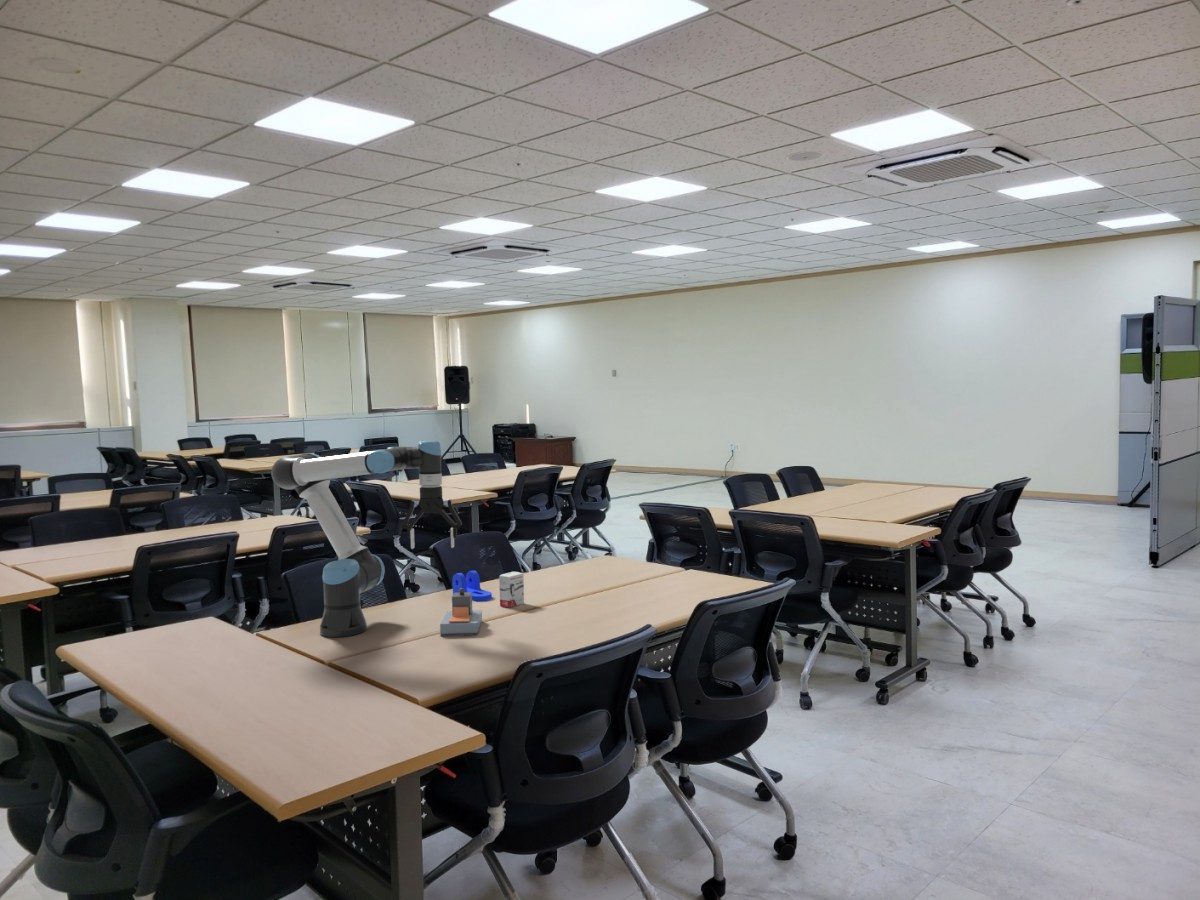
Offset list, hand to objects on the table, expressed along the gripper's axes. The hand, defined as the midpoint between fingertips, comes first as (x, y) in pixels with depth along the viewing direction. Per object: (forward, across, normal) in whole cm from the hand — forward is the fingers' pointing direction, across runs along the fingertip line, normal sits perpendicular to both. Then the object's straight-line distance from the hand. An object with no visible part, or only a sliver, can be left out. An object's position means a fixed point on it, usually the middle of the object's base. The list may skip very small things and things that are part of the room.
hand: (432, 547), depth 284 cm
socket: (+26, +10, -7) cm, 29 cm away
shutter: (+22, +10, -11) cm, 27 cm away
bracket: (+27, +9, +38) cm, 48 cm away
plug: (+26, +10, -4) cm, 28 cm away
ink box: (+27, +25, +23) cm, 43 cm away
